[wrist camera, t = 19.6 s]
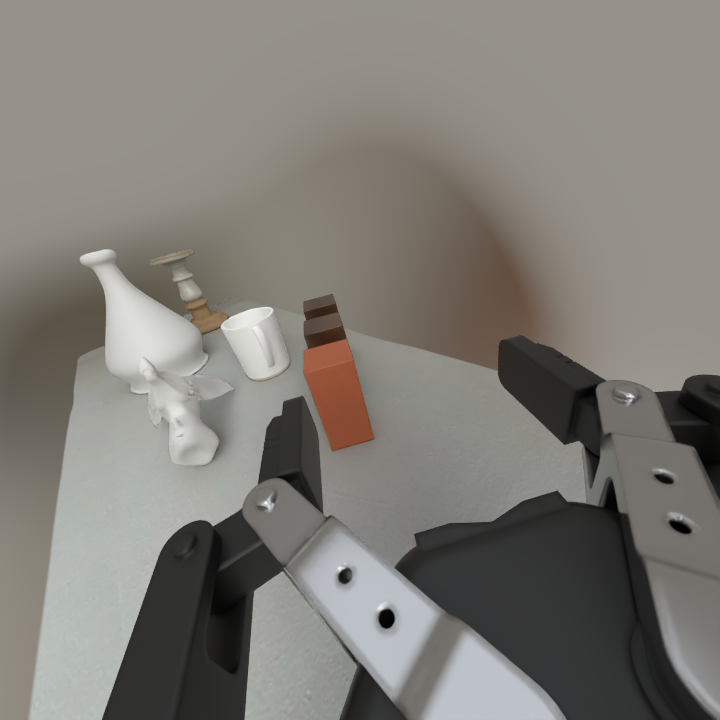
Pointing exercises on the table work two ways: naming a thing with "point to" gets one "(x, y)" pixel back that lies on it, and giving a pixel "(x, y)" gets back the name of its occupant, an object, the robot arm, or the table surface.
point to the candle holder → (191, 292)
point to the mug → (257, 343)
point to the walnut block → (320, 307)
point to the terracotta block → (337, 394)
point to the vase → (142, 329)
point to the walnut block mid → (323, 330)
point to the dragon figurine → (183, 411)
